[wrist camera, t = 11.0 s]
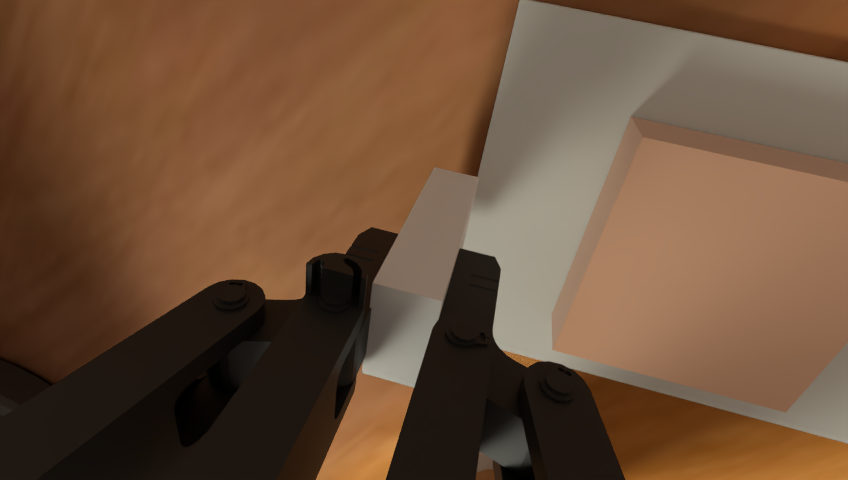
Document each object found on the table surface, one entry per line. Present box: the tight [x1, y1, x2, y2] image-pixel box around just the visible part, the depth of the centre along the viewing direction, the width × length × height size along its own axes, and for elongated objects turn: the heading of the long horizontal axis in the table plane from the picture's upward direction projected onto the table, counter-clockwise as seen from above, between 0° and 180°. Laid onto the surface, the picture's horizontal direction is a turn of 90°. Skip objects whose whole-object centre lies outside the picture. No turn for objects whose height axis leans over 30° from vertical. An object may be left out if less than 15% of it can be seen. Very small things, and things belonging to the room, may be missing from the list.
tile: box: [551, 117, 848, 413], centre depth 15 cm, size 2×8×8 cm
